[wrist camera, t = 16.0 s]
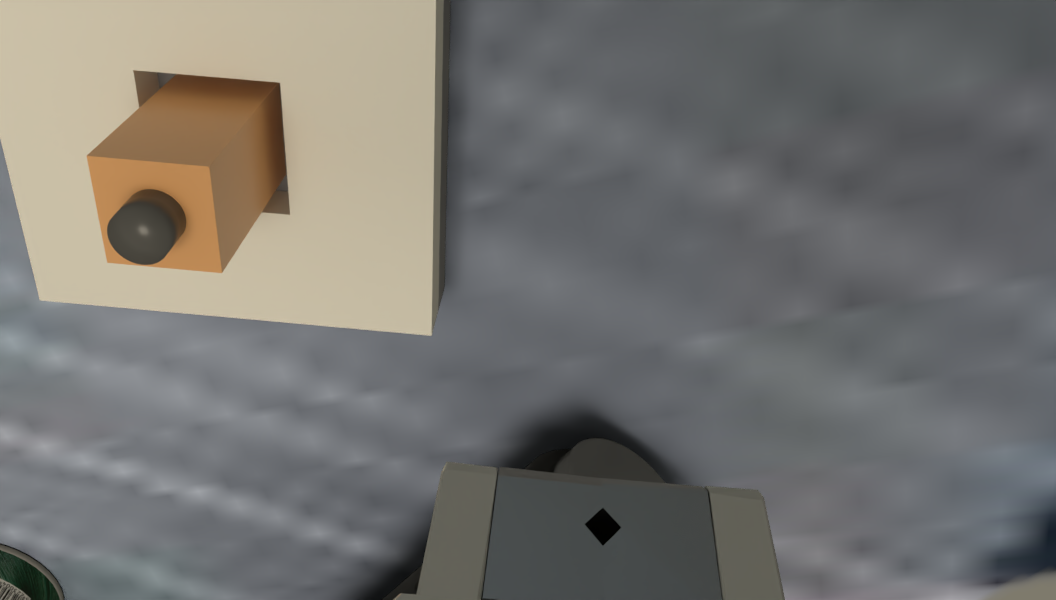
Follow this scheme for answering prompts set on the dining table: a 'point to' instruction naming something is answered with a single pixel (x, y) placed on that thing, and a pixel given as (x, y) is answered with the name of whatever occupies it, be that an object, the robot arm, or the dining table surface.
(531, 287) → the dining table surface
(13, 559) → the canned tomato
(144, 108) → the plug
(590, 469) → the muzzle brake
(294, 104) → the socket block
